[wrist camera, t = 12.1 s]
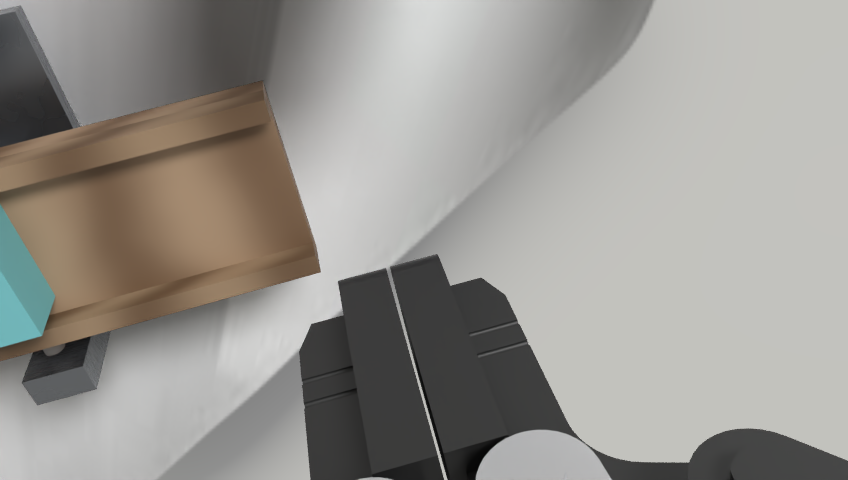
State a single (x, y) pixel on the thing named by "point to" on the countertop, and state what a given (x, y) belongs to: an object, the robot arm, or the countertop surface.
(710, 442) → the robot arm
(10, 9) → the pivot stand
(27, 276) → the teal block
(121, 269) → the beam
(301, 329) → the countertop surface
